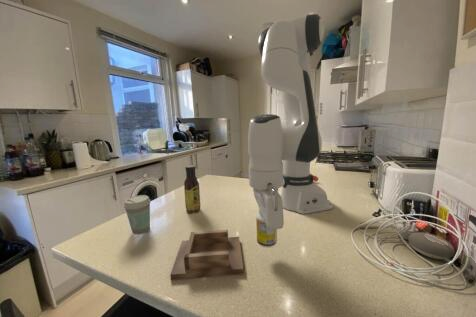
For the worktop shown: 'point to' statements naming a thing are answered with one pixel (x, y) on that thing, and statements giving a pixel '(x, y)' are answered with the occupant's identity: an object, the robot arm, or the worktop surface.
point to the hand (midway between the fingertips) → (266, 226)
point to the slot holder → (208, 256)
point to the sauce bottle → (191, 191)
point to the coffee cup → (138, 213)
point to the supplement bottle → (264, 233)
